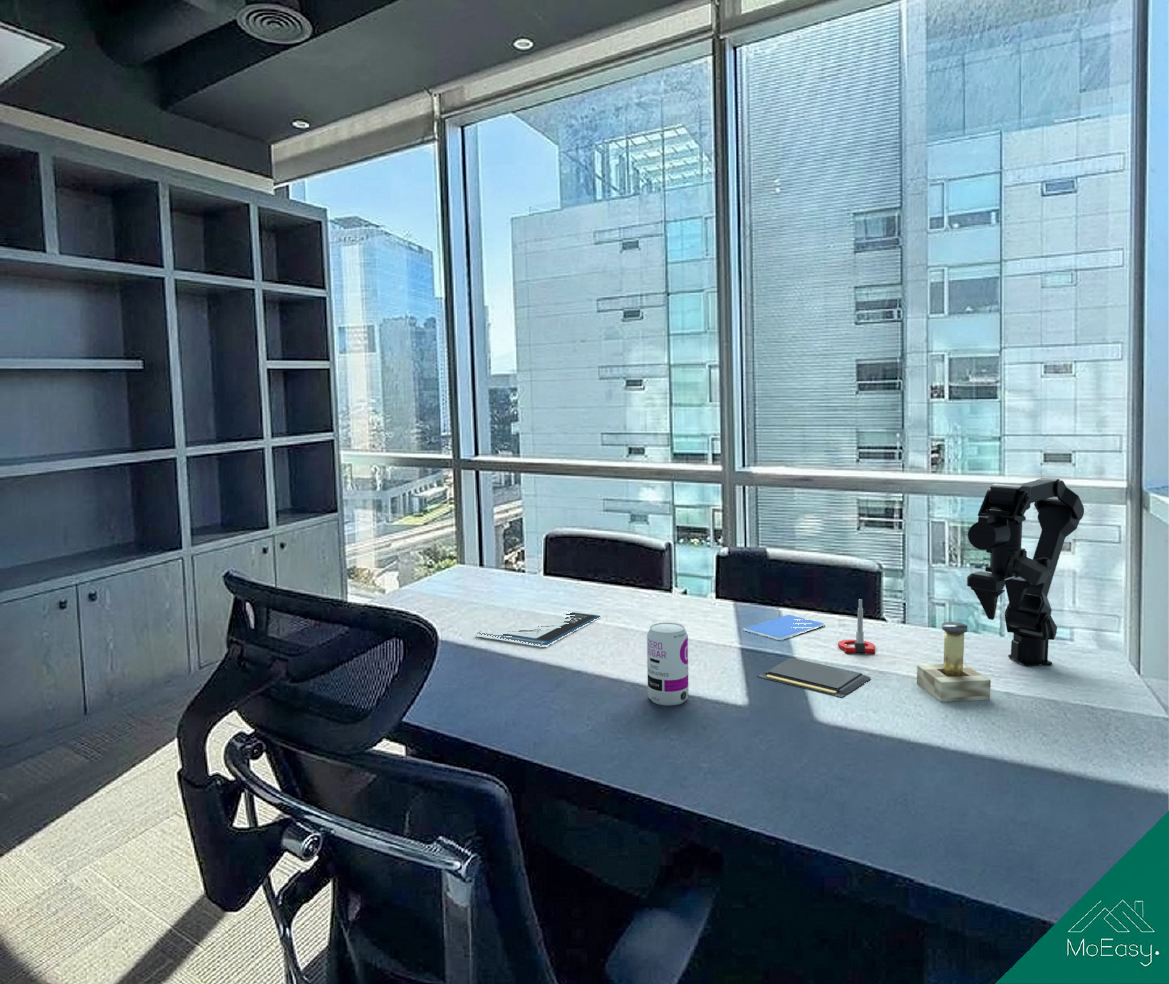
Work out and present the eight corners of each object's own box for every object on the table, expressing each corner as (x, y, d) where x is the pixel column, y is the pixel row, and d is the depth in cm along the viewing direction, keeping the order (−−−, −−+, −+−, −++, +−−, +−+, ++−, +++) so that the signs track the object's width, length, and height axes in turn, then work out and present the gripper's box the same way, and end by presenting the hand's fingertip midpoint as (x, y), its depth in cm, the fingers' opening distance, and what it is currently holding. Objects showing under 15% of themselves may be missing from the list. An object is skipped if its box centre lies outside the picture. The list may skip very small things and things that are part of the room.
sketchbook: (600, 620, 220) (600, 613, 220) (544, 651, 194) (544, 643, 194) (535, 611, 230) (535, 604, 230) (473, 640, 204) (473, 632, 204)
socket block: (962, 681, 166) (963, 663, 165) (989, 699, 156) (990, 680, 155) (916, 683, 165) (917, 665, 165) (940, 701, 155) (941, 682, 155)
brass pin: (965, 685, 161) (968, 623, 159) (964, 693, 157) (966, 629, 155) (941, 681, 163) (943, 620, 162) (939, 689, 159) (941, 627, 158)
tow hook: (835, 643, 194) (841, 654, 185) (835, 592, 193) (842, 599, 184) (870, 644, 193) (879, 655, 184) (871, 592, 192) (880, 600, 183)
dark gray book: (874, 673, 168) (841, 693, 158) (873, 681, 169) (841, 702, 158) (790, 653, 182) (754, 671, 171) (790, 661, 182) (754, 679, 172)
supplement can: (691, 693, 163) (691, 623, 161) (683, 708, 155) (682, 635, 153) (653, 689, 165) (652, 620, 164) (643, 704, 158) (642, 632, 156)
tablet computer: (779, 643, 195) (780, 638, 195) (741, 632, 205) (741, 627, 205) (827, 628, 207) (827, 623, 207) (788, 618, 217) (788, 613, 217)
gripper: (1020, 555, 154) (1017, 632, 156) (1068, 543, 164) (1064, 616, 166) (966, 547, 163) (964, 620, 165) (1015, 536, 173) (1012, 605, 175)
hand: (1002, 615), depth 168 cm, fingers open, 9 cm apart
